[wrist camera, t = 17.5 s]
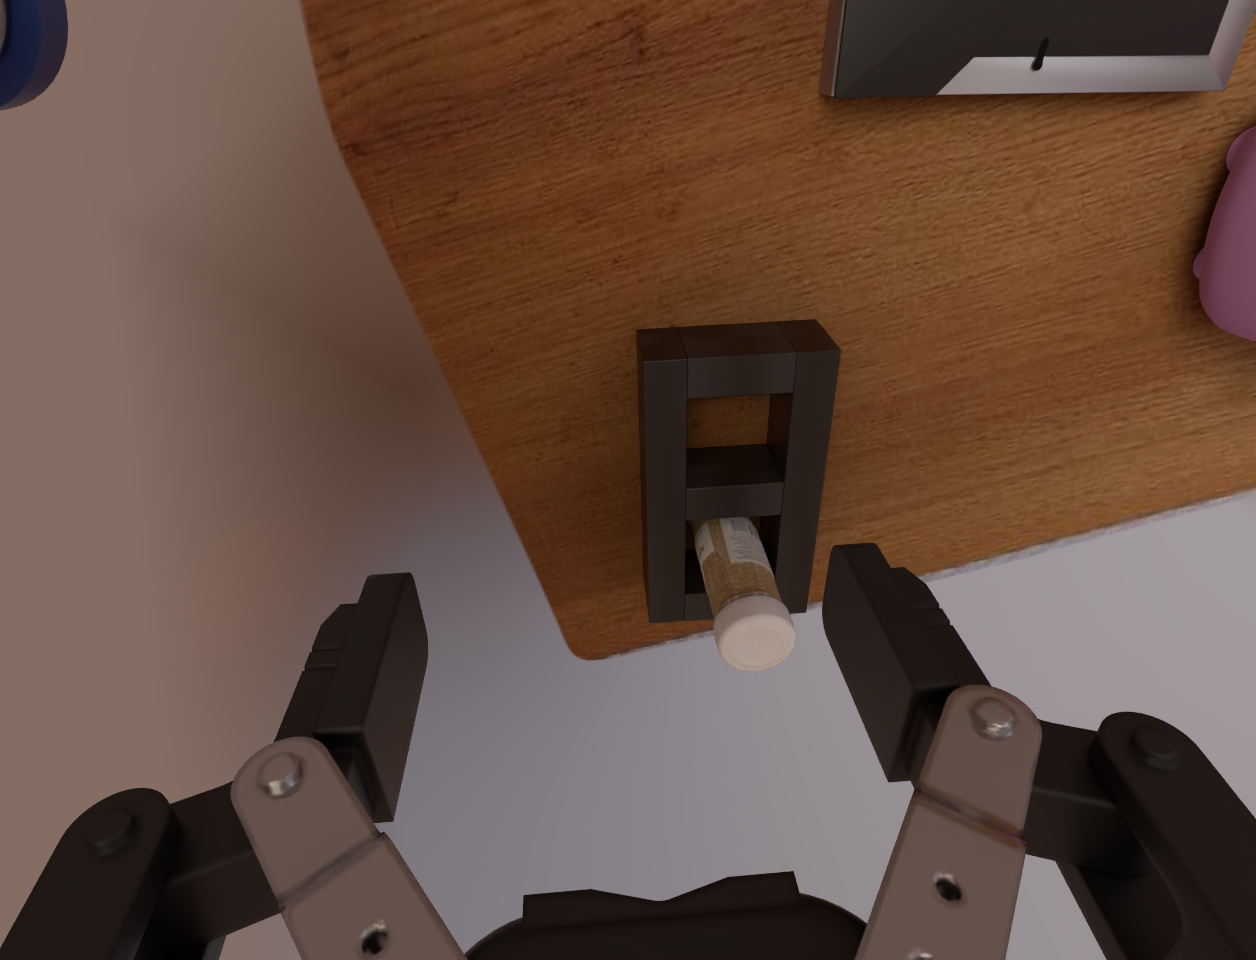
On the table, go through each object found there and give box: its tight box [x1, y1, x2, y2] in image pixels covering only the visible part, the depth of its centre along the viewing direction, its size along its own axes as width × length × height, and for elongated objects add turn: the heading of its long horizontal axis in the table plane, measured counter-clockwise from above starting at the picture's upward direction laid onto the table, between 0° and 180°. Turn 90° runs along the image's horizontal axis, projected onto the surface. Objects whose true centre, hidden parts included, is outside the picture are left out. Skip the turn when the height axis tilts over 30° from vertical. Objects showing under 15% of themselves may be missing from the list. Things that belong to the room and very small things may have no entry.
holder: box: [636, 319, 841, 623], centre depth 48 cm, size 11×20×5 cm, turn 2°
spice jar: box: [688, 517, 796, 672], centre depth 47 cm, size 5×5×13 cm
